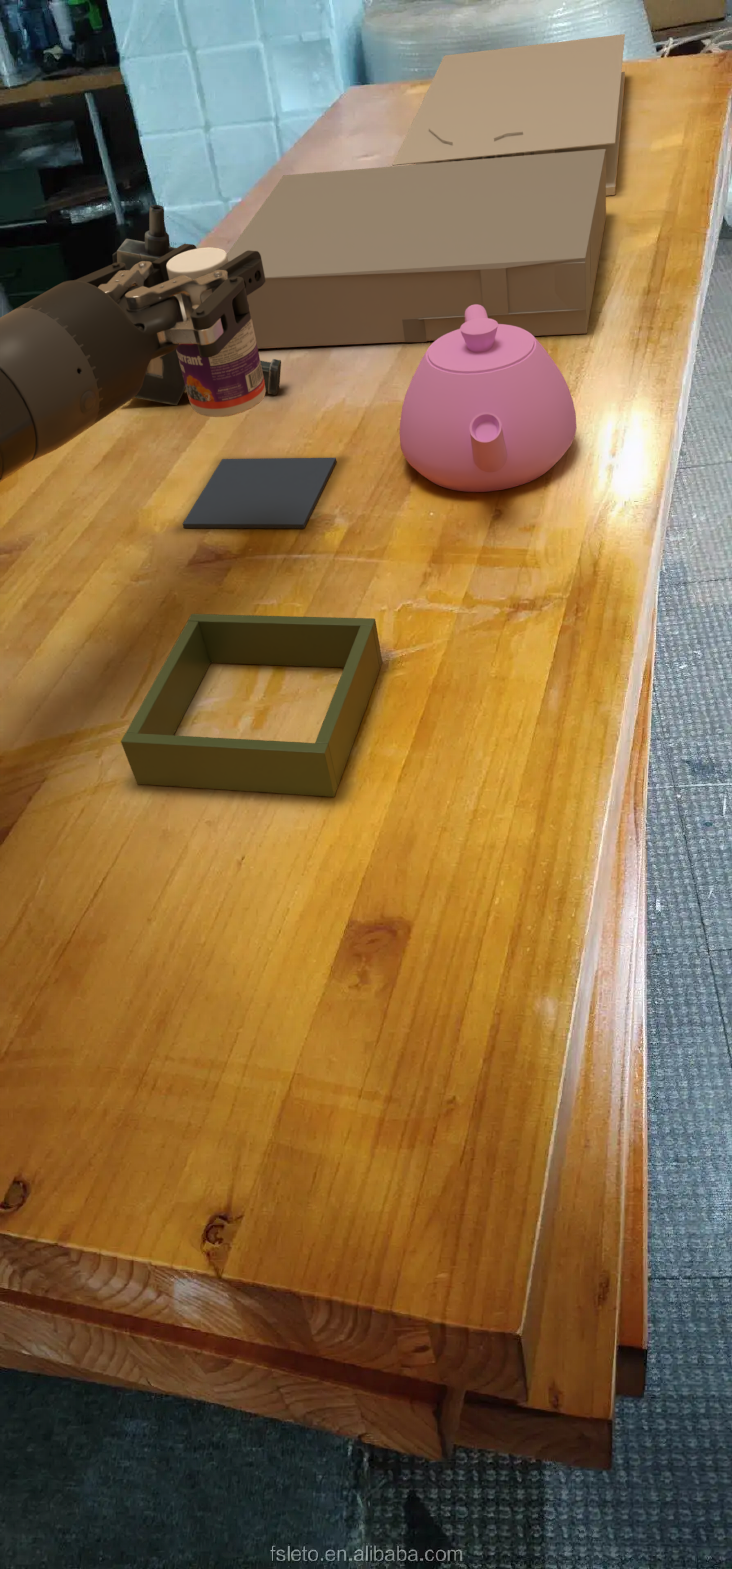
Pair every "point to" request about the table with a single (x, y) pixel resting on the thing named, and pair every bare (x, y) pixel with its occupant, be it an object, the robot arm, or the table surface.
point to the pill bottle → (236, 368)
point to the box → (428, 249)
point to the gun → (165, 371)
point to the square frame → (245, 760)
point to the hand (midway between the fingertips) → (225, 262)
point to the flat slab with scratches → (522, 104)
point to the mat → (261, 493)
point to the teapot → (486, 408)
